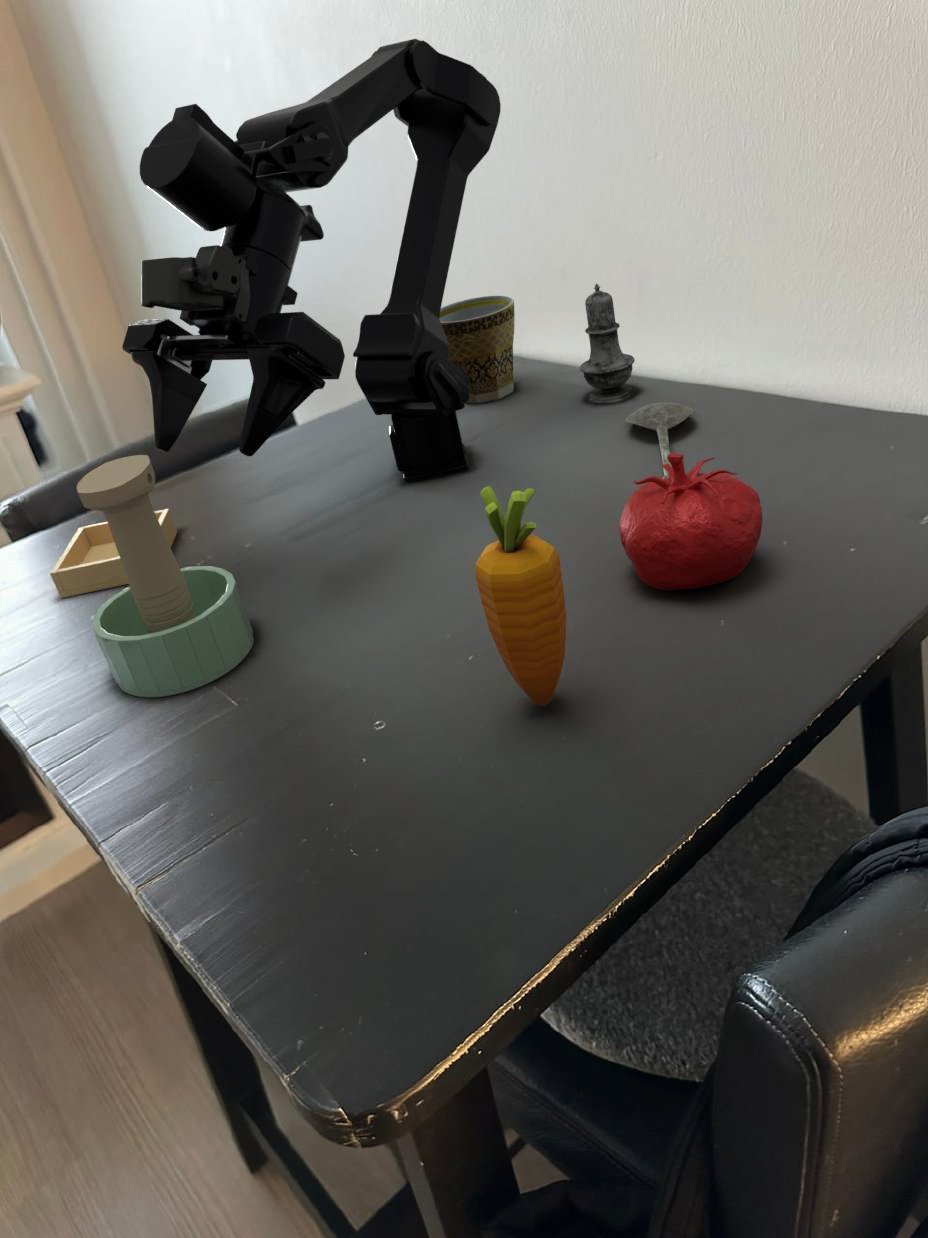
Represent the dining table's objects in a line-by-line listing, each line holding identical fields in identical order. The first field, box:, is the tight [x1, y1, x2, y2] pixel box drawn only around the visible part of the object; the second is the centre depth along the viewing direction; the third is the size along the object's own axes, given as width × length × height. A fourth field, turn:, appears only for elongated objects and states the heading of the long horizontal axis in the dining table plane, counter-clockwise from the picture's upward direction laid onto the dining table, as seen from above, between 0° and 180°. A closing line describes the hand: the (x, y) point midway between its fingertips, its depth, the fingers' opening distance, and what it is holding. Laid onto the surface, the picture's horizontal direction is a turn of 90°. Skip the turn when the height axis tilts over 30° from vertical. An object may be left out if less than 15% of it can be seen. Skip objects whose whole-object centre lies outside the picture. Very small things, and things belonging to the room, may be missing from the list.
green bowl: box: [91, 565, 255, 698], centre depth 78 cm, size 11×11×5 cm
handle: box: [76, 454, 196, 634], centre depth 75 cm, size 5×6×15 cm
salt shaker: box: [579, 283, 637, 405], centre depth 109 cm, size 6×6×12 cm
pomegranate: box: [618, 452, 763, 592], centre depth 73 cm, size 10×10×9 cm
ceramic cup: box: [439, 295, 516, 404], centre depth 119 cm, size 13×10×10 cm
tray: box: [49, 508, 178, 599], centre depth 97 cm, size 9×10×3 cm
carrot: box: [474, 485, 567, 708], centre depth 61 cm, size 5×5×15 cm
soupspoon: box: [625, 401, 695, 479], centre depth 94 cm, size 22×3×7 cm
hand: (202, 452), depth 78 cm, fingers open, 9 cm apart
